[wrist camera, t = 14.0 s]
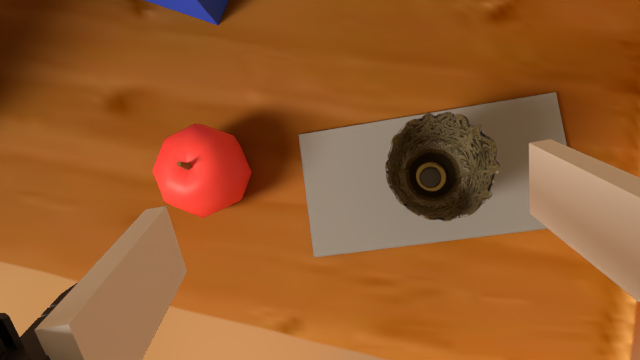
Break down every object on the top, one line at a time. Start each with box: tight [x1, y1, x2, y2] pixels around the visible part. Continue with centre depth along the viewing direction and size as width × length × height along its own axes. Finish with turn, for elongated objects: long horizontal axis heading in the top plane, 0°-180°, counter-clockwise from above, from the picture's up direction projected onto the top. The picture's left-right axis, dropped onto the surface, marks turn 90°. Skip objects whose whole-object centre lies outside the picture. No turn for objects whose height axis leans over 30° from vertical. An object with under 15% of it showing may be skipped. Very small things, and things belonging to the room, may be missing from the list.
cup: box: [385, 112, 500, 221], centre depth 32 cm, size 8×7×8 cm
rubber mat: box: [299, 92, 567, 257], centre depth 36 cm, size 22×11×1 cm, turn 97°
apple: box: [152, 124, 252, 218], centre depth 36 cm, size 8×8×8 cm
